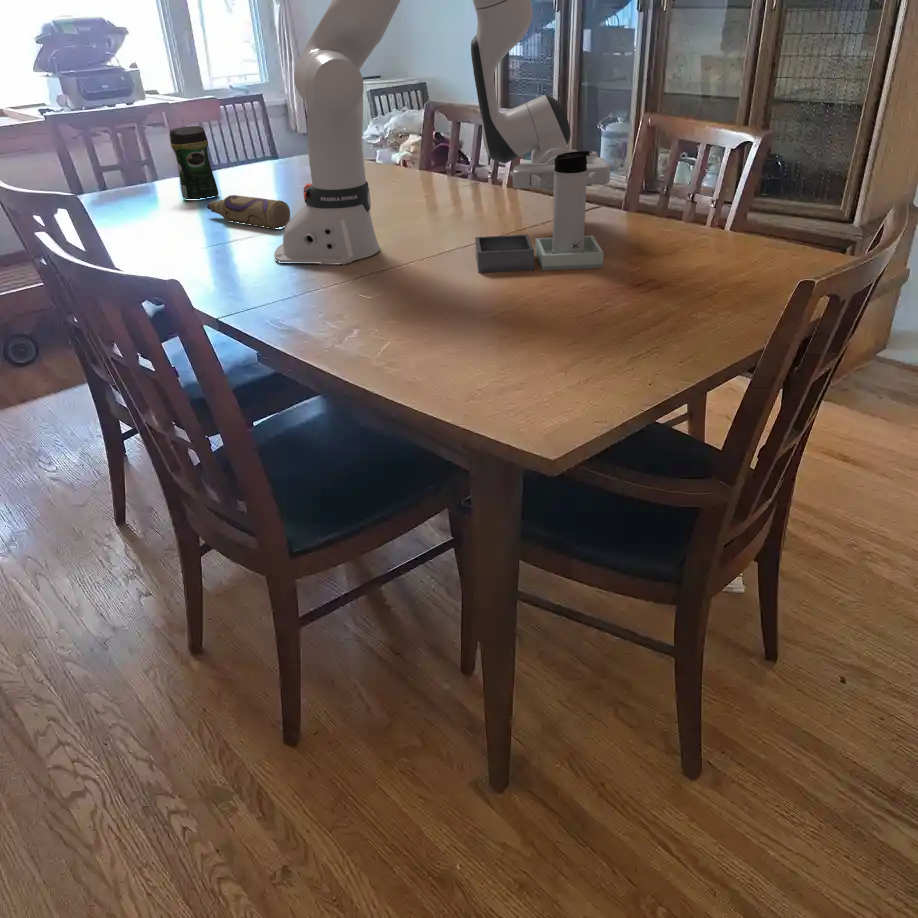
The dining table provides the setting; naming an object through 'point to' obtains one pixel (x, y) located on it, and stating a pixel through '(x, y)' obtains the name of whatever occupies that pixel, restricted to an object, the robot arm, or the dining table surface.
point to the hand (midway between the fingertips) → (565, 183)
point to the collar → (504, 253)
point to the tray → (569, 256)
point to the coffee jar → (193, 162)
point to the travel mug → (569, 202)
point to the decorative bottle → (252, 211)
